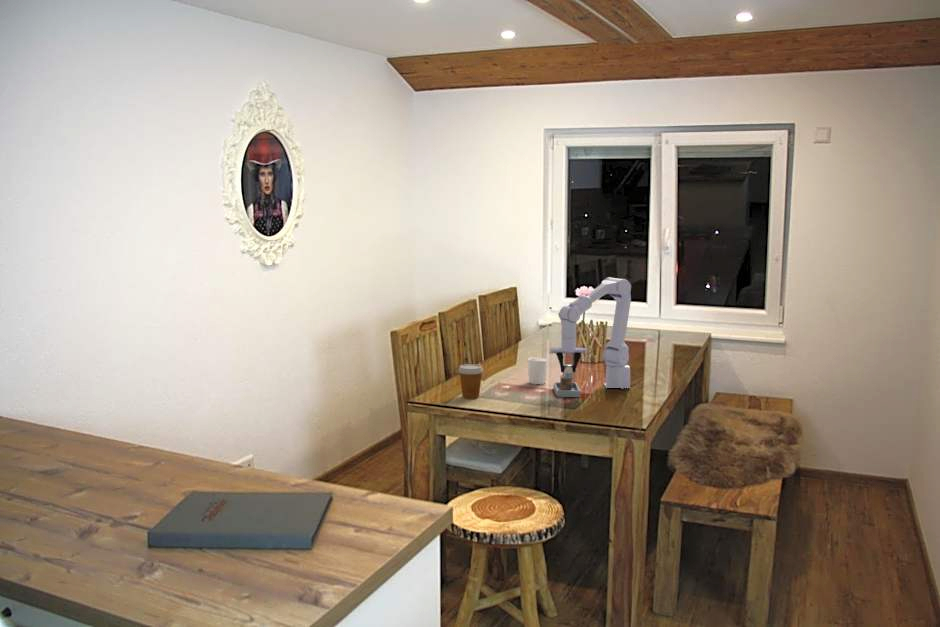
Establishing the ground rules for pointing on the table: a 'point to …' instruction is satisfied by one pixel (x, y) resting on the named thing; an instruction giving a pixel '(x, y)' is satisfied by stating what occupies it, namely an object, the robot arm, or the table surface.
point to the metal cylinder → (568, 371)
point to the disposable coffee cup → (470, 380)
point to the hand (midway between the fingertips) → (568, 371)
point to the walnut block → (565, 383)
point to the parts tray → (567, 393)
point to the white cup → (537, 370)
